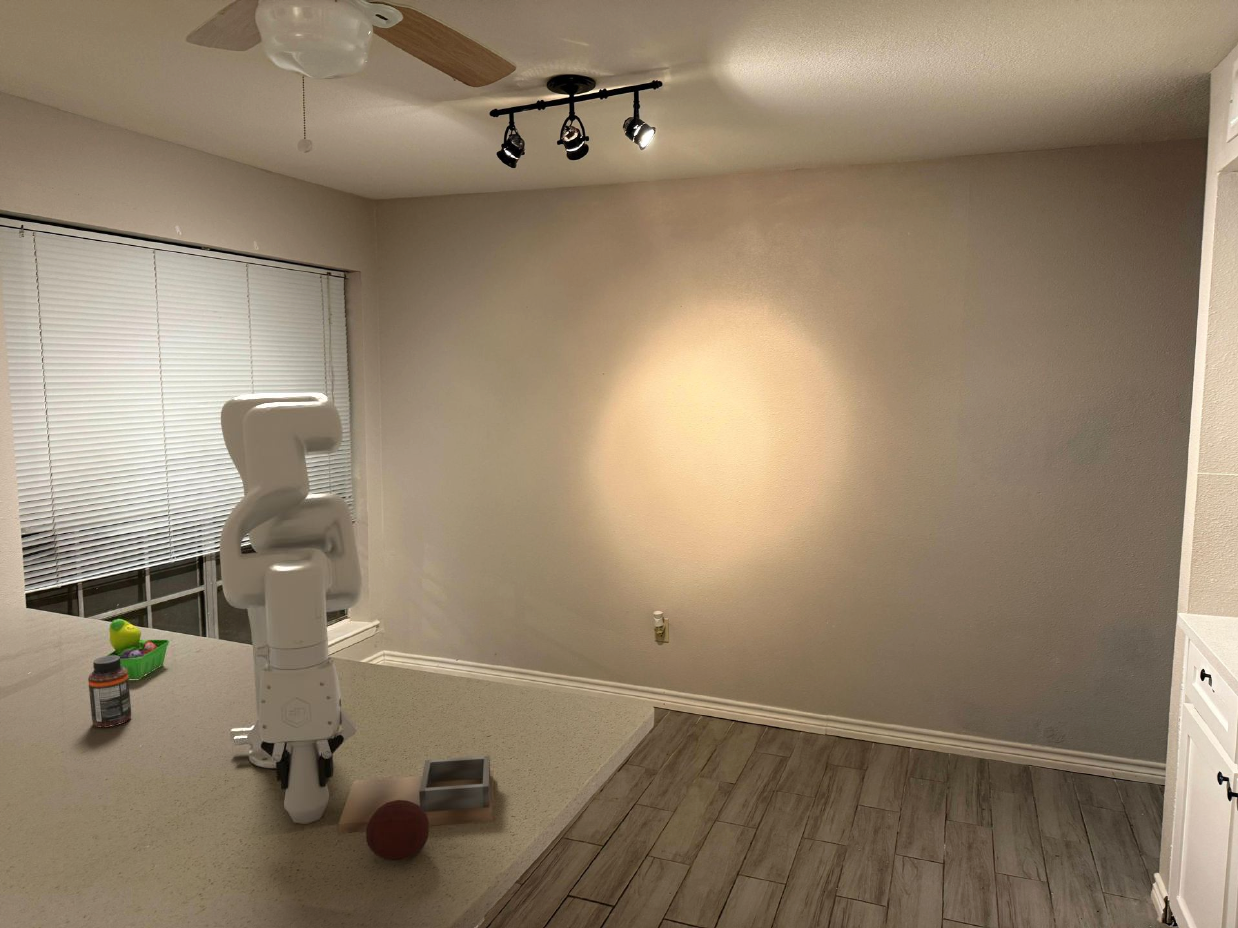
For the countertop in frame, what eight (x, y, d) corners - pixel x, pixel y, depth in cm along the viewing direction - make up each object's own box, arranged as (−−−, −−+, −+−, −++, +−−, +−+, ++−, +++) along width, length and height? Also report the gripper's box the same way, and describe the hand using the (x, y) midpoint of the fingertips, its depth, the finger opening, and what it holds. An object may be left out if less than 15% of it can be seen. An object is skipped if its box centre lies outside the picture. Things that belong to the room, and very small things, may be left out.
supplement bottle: (97, 717, 151) (91, 655, 150) (135, 712, 153) (130, 651, 152) (87, 730, 146) (82, 666, 144) (127, 725, 148) (122, 662, 146)
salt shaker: (315, 829, 114) (310, 735, 112) (276, 825, 115) (270, 732, 114) (337, 807, 120) (333, 717, 118) (300, 803, 121) (295, 714, 119)
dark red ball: (426, 871, 104) (423, 816, 103) (360, 875, 104) (358, 819, 103) (433, 838, 112) (432, 786, 111) (373, 841, 111) (370, 789, 110)
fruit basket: (141, 683, 168) (137, 627, 166) (96, 683, 168) (92, 627, 166) (172, 663, 179) (168, 610, 178) (130, 663, 179) (126, 610, 178)
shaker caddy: (338, 832, 113) (337, 802, 113) (354, 788, 125) (352, 760, 124) (492, 820, 116) (491, 790, 115) (493, 778, 127) (492, 751, 127)
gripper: (223, 666, 110) (232, 802, 112) (359, 659, 112) (365, 792, 114) (241, 647, 117) (249, 775, 119) (368, 641, 120) (373, 766, 122)
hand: (305, 782), depth 117 cm, fingers open, 4 cm apart
